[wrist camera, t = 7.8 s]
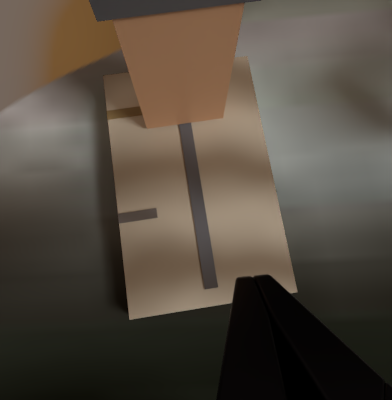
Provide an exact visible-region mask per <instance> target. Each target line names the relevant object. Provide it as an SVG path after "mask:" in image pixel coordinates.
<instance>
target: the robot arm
mask: <svg viewBox="0 0 392 400" xmlns="http://www.w3.org/2000/svg"><path fill="white" fill-rule="evenodd" d="M216 400H392V386H391V385H390V384H389V383H385V381H384V379H383V378H382V377H381V376H380V375H379V374H378V373H376V372H375V371H374V370H373V369H372V368H371V367H370V366H369V365H368V364H367V363H366V362H364V361H363V360H362V359H361V358H360V357H359V356H358V355H357V354H356V353H355V352H354V351H352V350H351V349H350V348H349V347H348V346H347V345H346V344H345V343H344V342H343V341H342V340H340V339H339V338H338V337H337V336H336V335H335V334H334V333H333V332H332V331H331V330H330V329H329V328H327V327H326V326H325V325H324V324H323V323H322V322H321V321H320V320H319V319H318V318H317V317H315V316H314V315H313V314H312V313H311V312H310V311H309V310H308V309H307V308H306V307H305V306H303V305H302V304H301V303H300V302H299V301H298V300H297V299H296V298H295V297H294V296H293V295H292V294H290V293H289V292H288V291H287V290H286V289H285V288H284V287H283V286H282V285H281V284H280V283H278V282H277V281H276V280H275V279H274V278H273V277H272V276H271V275H269V274H263V275H255V276H253V277H252V276H243V277H237V278H236V281H235V287H234V293H233V299H232V305H231V312H230V318H229V324H228V330H227V337H226V343H225V349H224V355H223V361H222V368H221V374H220V380H219V386H218V393H217V399H216Z"/></svg>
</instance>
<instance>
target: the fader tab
mask: <svg viewBox="0 0 392 400" xmlns="http://www.w3.org/2000/svg"><path fill="white" fill-rule="evenodd" d="M89 1H90V4H91V7H92V9H93V12H94V15H95V17H96V20H97V21H105V20H113V23H114V26H115V29H116V33H117V36H118V39H119V42H120V45H121V48H122V52H123V55H124V58H125V61H126V64H127V67H128V71H129V74H130V77H131V80H132V83H133V86H134V89H135V93H136V96H137V99H138V102H139V105H140V108H141V112H142V115H143V118H144V121H145V124H146V127H147V129H150V128H157V127H164V126H171V125H178V124H185V123H192V122H199V121H206V120H213V119H220V118H223V116H224V110H225V105H226V99H227V94H228V89H229V83H230V78H231V73H232V67H233V62H234V56H235V51H236V46H237V40H238V35H239V30H240V24H241V19H242V13H243V8H244V3H245V2H253V1H261V0H89Z"/></svg>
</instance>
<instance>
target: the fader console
mask: <svg viewBox="0 0 392 400" xmlns="http://www.w3.org/2000/svg"><path fill="white" fill-rule="evenodd" d="M103 80H104V89H105V99H106V108H107V119H108V126H109V135H110V145H111V154H112V163H113V172H114V181H115V191H116V200H117V209H118V221H119V228H120V237H121V246H122V255H123V264H124V274H125V283H126V292H127V301H128V310H129V320H131V319H137V318H143V317H149V316H155V315H161V314H167V313H173V312H179V311H185V310H192V309H198V308H204V307H210V306H216V305H222V304H228V303H232V299H233V293H234V287H235V281H236V278H237V277H243V276H252V277H253V276H255V275H263V274H269V275H271V276H272V277H273V278H274V279H275V280H276V281H277V282H278V283H280V284H281V285H282V286H283V287H284V288H285V289H286V290H287V291H288V292H289V293H295V292H297V288H296V283H295V278H294V274H293V269H292V264H291V259H290V255H289V250H288V245H287V241H286V236H285V231H284V227H283V222H282V217H281V213H280V208H279V203H278V198H277V194H276V189H275V184H274V180H273V175H272V170H271V166H270V161H269V156H268V152H267V147H266V142H265V137H264V133H263V128H262V123H261V119H260V114H259V109H258V105H257V100H256V95H255V91H254V86H253V81H252V76H251V72H250V67H249V62H248V58H247V56H244V57H237V58H234V62H233V67H232V73H231V78H230V83H229V89H228V94H227V99H226V105H225V110H224V116H223V118H220V119H213V120H206V121H199V122H192V123H185V124H178V125H171V126H164V127H157V128H150V129H147V127H146V124H145V121H144V118H143V115H142V112H141V108H140V105H139V102H138V99H137V96H136V93H135V89H134V86H133V83H132V80H131V77H130V74H129V72H125V73H118V74H111V75H103Z"/></svg>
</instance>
